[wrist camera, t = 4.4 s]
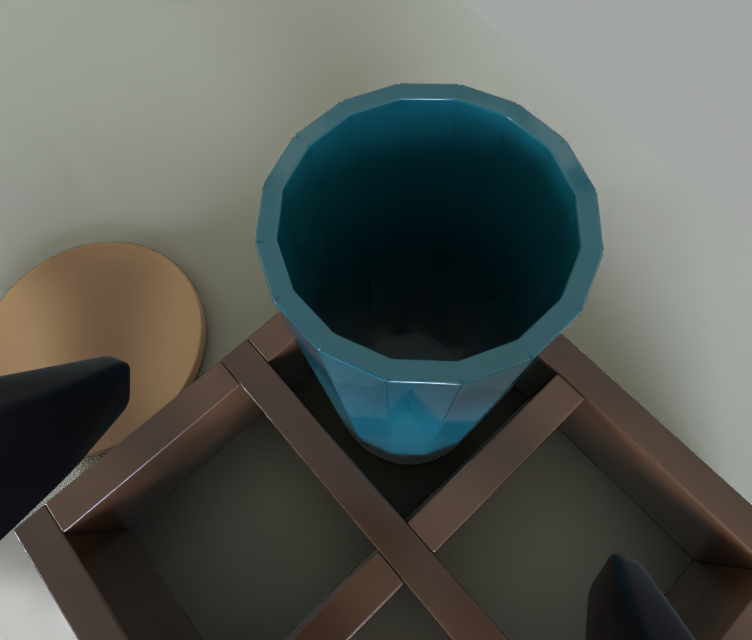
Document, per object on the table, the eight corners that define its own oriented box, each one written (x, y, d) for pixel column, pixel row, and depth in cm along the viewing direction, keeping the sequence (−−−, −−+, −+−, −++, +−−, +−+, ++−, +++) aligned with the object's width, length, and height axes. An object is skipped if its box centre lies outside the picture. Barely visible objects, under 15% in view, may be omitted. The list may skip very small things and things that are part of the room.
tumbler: (405, 495, 19) (422, 465, 7) (312, 390, 20) (190, 210, 8) (505, 398, 20) (674, 221, 8) (410, 304, 22) (429, 34, 9)
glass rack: (391, 995, 14) (390, 1165, 11) (86, 526, 19) (11, 530, 15) (740, 562, 18) (831, 575, 14) (411, 252, 22) (415, 200, 19)
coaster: (57, 509, 19) (47, 509, 19) (-51, 339, 22) (-63, 335, 21) (250, 350, 21) (246, 346, 21) (130, 210, 24) (123, 203, 23)
